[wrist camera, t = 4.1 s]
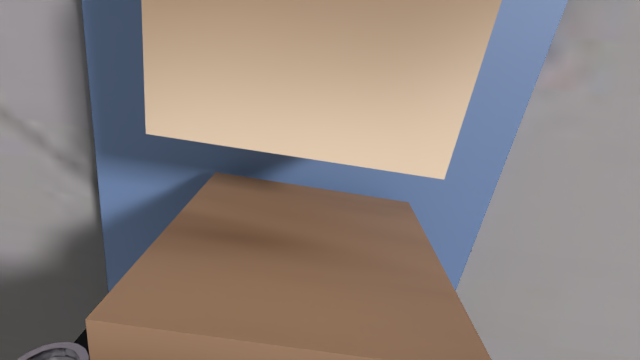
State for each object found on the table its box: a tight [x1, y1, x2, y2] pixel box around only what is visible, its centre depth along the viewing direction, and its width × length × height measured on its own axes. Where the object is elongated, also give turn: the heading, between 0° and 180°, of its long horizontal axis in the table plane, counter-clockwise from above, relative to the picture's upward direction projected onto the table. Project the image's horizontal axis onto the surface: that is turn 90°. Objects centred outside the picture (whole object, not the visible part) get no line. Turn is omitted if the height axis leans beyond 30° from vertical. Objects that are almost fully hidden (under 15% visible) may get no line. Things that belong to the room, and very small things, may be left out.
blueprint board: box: [81, 0, 568, 293], centre depth 13 cm, size 24×13×1 cm, turn 171°
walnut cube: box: [85, 172, 491, 360], centre depth 9 cm, size 6×6×6 cm
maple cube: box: [141, 0, 502, 180], centre depth 7 cm, size 5×5×5 cm
